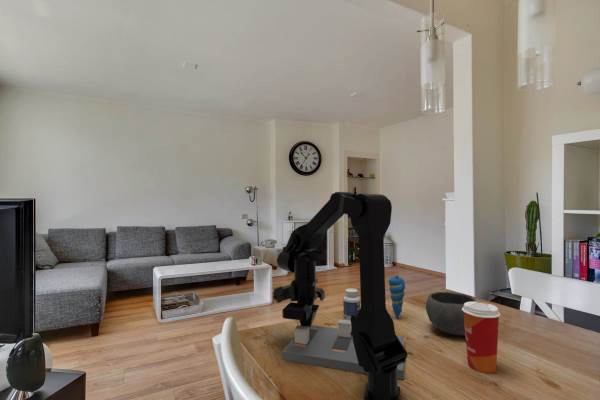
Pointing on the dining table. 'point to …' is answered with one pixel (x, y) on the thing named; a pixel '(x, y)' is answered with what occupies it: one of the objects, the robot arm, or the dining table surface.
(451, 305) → the bowl
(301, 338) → the handle
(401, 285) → the ornament
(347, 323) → the middle handle
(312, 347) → the breaker panel
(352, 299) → the pill bottle
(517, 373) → the dining table surface
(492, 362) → the paper cup
